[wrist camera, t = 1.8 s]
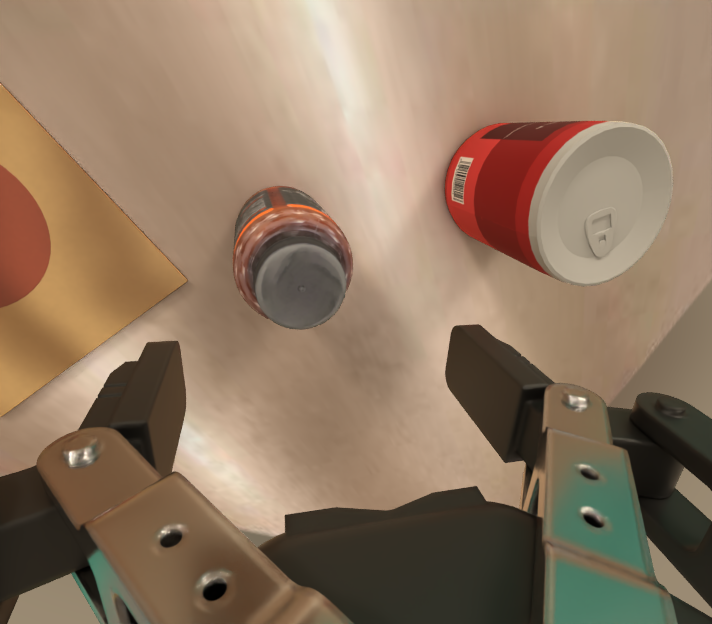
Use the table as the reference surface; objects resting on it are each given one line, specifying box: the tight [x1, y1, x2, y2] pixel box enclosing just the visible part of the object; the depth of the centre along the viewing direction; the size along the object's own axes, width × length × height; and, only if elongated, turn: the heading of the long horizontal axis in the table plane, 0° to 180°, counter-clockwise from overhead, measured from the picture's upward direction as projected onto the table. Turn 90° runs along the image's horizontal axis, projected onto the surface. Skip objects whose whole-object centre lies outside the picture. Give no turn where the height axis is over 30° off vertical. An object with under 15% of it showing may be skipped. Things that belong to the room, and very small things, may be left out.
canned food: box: [445, 121, 673, 286], centre depth 25 cm, size 8×8×11 cm
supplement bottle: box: [233, 186, 353, 329], centre depth 23 cm, size 6×6×11 cm
